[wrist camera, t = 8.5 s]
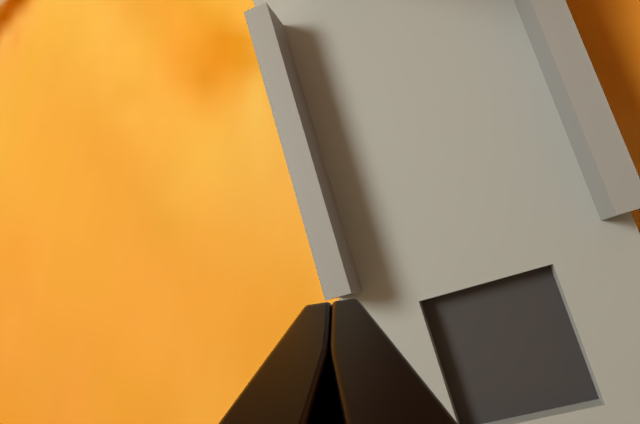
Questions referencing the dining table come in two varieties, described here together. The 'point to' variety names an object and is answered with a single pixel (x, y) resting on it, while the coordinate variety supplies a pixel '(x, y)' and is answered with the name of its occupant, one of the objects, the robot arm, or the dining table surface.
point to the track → (466, 196)
